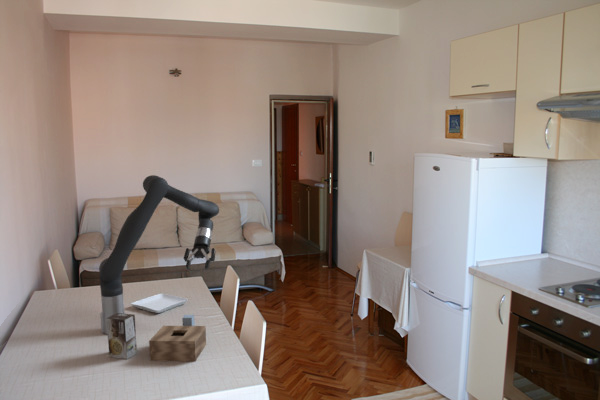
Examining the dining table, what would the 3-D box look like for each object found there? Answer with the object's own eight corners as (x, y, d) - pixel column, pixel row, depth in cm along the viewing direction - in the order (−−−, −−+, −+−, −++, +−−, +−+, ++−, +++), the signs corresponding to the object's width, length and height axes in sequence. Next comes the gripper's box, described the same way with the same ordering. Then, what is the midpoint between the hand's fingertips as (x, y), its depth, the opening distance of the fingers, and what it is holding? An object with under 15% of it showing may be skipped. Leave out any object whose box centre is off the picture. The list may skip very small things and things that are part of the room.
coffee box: (137, 353, 197) (135, 314, 195) (127, 359, 191) (124, 319, 189) (119, 350, 200) (116, 312, 198) (108, 356, 194) (105, 317, 192)
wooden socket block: (150, 360, 189) (149, 340, 188) (164, 343, 205) (163, 325, 204) (195, 361, 188) (194, 341, 187) (206, 344, 204) (205, 325, 203)
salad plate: (189, 304, 257) (189, 298, 257) (158, 316, 240) (157, 310, 239) (161, 298, 269) (161, 292, 268) (130, 309, 251) (129, 303, 250)
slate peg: (183, 340, 209) (182, 317, 208) (186, 336, 213) (185, 314, 212) (192, 340, 208) (191, 317, 207) (195, 336, 212) (194, 314, 211)
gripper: (186, 234, 231) (179, 264, 221) (215, 234, 229) (210, 264, 219) (190, 243, 237) (184, 272, 227) (219, 243, 235) (214, 272, 225)
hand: (197, 268), depth 223 cm, fingers open, 8 cm apart
